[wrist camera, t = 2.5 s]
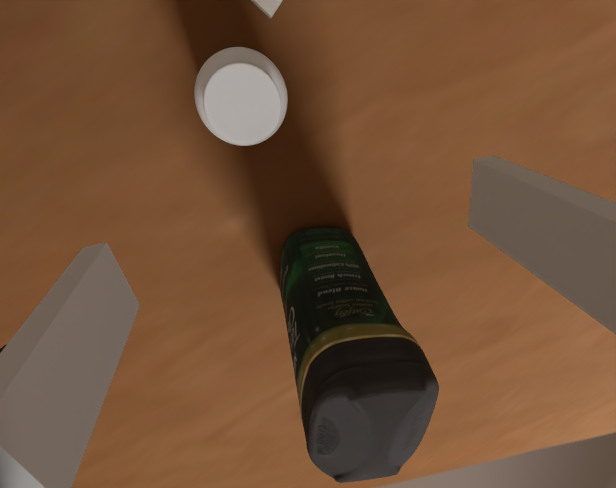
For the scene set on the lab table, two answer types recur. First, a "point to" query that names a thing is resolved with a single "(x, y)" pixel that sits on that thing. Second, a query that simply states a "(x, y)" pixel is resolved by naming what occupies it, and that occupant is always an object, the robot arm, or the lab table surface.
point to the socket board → (267, 6)
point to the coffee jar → (351, 360)
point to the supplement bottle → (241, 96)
